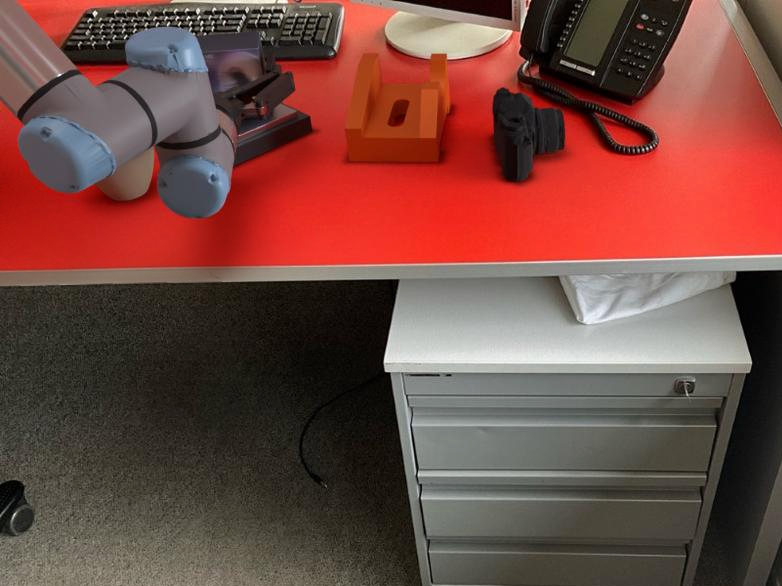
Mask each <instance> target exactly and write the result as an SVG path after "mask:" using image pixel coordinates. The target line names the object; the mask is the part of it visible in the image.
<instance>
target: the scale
mask: <svg viewBox="0 0 782 586" xmlns="http://www.w3.org/2000/svg"><path fill="white" fill-rule="evenodd" d="M312 132H314V130H313V125H312V119H311V115H310V114H307V113H305V112H303V111H301V110H298V109H297V108H295V107H292V106H290V105H288V104H285V103H284V102H281V103H280V104H279V105H278V106H277V107H275V108H274V109H273V110H272V117H268V118H267V119H266V120H258V118H250V119H242V120H241V127H240V132H239V138H238V142H237V147H236V153H235V158H234V163H233V167H235V166H237V165H240V164H242V163H244V162H246V161H249V160H251V159H253V158H256V157H258V156H260V155H262V154H265V153H267V152H269V151H271V150H274V149H276V148H278V147H280V146H282V145H285V144H287V143H290V142H291V141H294V140H296V139H298V138H300V137H303V136H306V135H307V134H309V133H312Z"/></svg>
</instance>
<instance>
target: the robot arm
mask: <svg viewBox="0 0 782 586" xmlns="http://www.w3.org/2000/svg"><path fill="white" fill-rule="evenodd" d="M195 36H196V35H195V34H194V33H192V32H191V31H190V30H188V29H184V28H182V27H175V26H158V27H152V28H148V29H143V30H140V31H138V32H136V33H134V34H133V35H131V36H130V37H129V38H128V40H127V41H126V43H125V44H124V51H125V56H126V59H125V61H126V63H127V65H128V68H126V69H125V70H123V71H121V72H119V73H117V74H115V75H113V76H112V77H110V78H108V79H107V80H105V81H103V82H101V83H99V84H97V85H94V84H93V83H92V82H91V81H90V79H88V78H87V76H85V75H84V74H83V72H81V71H80V69H79V68H78V67H77V66H76V65H75V64H74V63H73V61H71V60H70V58H69V57H68V56H67V55H66V54H65V52H63V51H62V49H60V47H59V46H58V45H57V43H55V41H53V39H52V38H51V37H50V36H49V35H48V34H47V32H46V31H44V30H43V29H42V27H41V26H40V25H39V24H38V23H37V22H36V20H35V19H33V17H32V16H31V15H30V14H29V13H28V12H27V10H25V8H24V7H23V6H22V5H21V3H20V2H18V1H17V0H0V102H1V103H2V104H3V105H4V106H5V107H6V108H7V109H8V110H9V111H10V112H11V113H12V114H13V115H14V117H16V118H17V119H18V120H19V121H20V122H21V124H22V125H23V127H22V128H21V129H20V130H19V133H18V135H17V147H18V150H19V154H20V156H21V157H22V159H23V160H25V161H26V162H27V164H28V170H29V171H30V172H31V173H32V174H33V176H34V177H35V178H36V179H38V180H39V182H41V183H42V184H44V185H45V187H46V186H47V187H48V188H50V189H51V190H53V191H56V192H59V193H63V194H76V193H80V192H82V191H84V190H86V189H87V188H89V187H91V186H93V185H95V183H97V182H98V181H100V180H103V179H105V178H106V177H110V176H111V175H112V174H113V173H114V172H115V171H116V170H117V169H119V168H120V167H122V166H123V165H125V164H126V163H128V162H129V161H131V160H132V159H134V158H135V157H137V156H138V155H140V154H141V153H143V152H145V151H146V150H148V149H149V148H151V147H154V151H155V154H156V156H157V160H158V163H159V169H158V171H157V176H156V180H157V183H156V184H157V185H156V189H157V190H156V191H157V194H158V196H159V199H160V200H161V202H162V203H163V205H164V206H165V207H166V208H167V209H168V210H169V211H170V212H172V213H174V214H175V215H177V216H179V217H182V218H185V219H190V220H203V219H207V218H210V217H212V216H214V215H215V214H216V213H218V212H219V211H220V210H221V209H222V208H223V207H224V204H225V202H226V199H227V196H228V194H229V193H230V190H231V188H232V187H231V186H232V182H231V181H232V176H233V175H232V174H233V169H234V168H233V167H234V166H233V163H234V158H235V153H236V147H237V142H238V138H239V132H240V127H241V120H242V119H244V118H245V117H246V115H254V114H255V115H256V116H258V120H266V119H267V118H268V115H269V113H270V112H271V111H272V110H273V109H274V108H275V107H277V106H278V105H279V104H280V103H281V102H282V103H284V101H285V100H286V99H287V98H289V97H290V96H291V95H292V94H294V92H296V84H295V79H294V74H293V71H288V70H287V71H285V72H283V67H282V65H281V64H277V62H276V61H277V60H276V57H275V51H274V50H270V51H269V50H268V51H267V55H266V61H265V63H266V68H265V71H266V75H264V76H262V77H260V78H258V79H256V80H254V81H252V82H250V83H248V84H246V85H244V86H242V87H238V86H234V87H232V88H230V89H228V90H226V91H224V92H222V91H220V92H218V93H212V89H211V85H210V81H209V77H208V68H207V66H206V64H205V61H204V57H203V54H202V50H201V49H200V46H199V43H198V40H197V38H196V37H195ZM234 96H235V97H236V98H235V97H234Z"/></svg>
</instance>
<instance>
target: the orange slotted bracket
mask: <svg viewBox="0 0 782 586" xmlns="http://www.w3.org/2000/svg"><path fill="white" fill-rule="evenodd" d="M448 64H449V63H448V53H431V54H430V57H429V81H427V80H426V81H425V80H424V81H422V82H418V83H417V82H416V83H414V82H412V83H411V82H410V83H409V82H407V83H406V82H405V83H404V82H402V83H401V82H388V83H387V82H383V79H382V71H381V70H382V69H381V60H380V54H379V53H375V52H373V53H371V52H370V53H367V52H366V53H365V52H364V53H362V56H361V58H360V60H359V63H358V65H357V69H356V74H355V79H354V84H353V87H352V91H351V96H350V102H349V106H348V109H347V115H346V120H345V124H344V135H345V141H346V148H347V155H348V161H349V162H382V163H388V162H389V163H391V162H392V163H439V159H440V156H441V155H440V154H441V149H440V148H441V147H440V143H441V139H442V134H443V130H444V125H445V120H446V116H447V115H448V114H449V113H450V108H451V100H450V99H451V97H450V82H449V65H448ZM400 115H405V117H404V120H403V123H402V124H401V125H398V126H394V124H395V120H396V118H397V117H398V116H400Z"/></svg>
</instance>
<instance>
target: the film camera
mask: <svg viewBox="0 0 782 586" xmlns="http://www.w3.org/2000/svg"><path fill="white" fill-rule="evenodd" d="M491 104H492V108H491V109H492V110H491V111H492V122H493V124H492V125H493V133H492V138H493V142H494V146H495V150H496V152H497V155H498V156H497V157H498V160H499V164H500V167H501V170H502V173H503V176H504V178H505V179H506V180H507V181H510V182H523V181H525V180H526V179H527V178H528V177H529V175H530V174H529V173H531V171H532V170H533V167H534V154H535V155H542V154H552V153H554V154H555V153H557V151H563V150H565V145H566V122H565V116H564V112H563V110H562V108H555V107H553V106H550V107H542V108H541V107H535V106H534V103H533V100H532V97H530V96H529V95H527V94H525V93H524V92H520V91H519V92H516V93H514V92H511V91H510V89H509V88H506V87H505V86H502V87H500V88H498V89H496V92H495V94H493V98H492V103H491Z"/></svg>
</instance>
